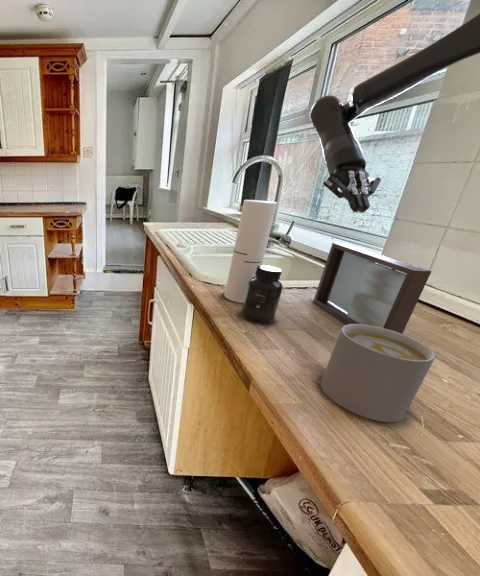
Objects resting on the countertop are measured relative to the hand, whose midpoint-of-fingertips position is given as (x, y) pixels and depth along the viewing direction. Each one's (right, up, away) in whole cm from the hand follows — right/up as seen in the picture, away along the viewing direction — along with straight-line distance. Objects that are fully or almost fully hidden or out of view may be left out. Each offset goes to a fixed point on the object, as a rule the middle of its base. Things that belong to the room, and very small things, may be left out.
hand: (361, 210), depth 74 cm
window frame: (-6, -27, -3) cm, 27 cm away
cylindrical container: (-26, -22, +8) cm, 35 cm away
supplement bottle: (-27, -26, -3) cm, 38 cm away
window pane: (0, -24, +1) cm, 24 cm away
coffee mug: (-23, -35, -26) cm, 50 cm away
